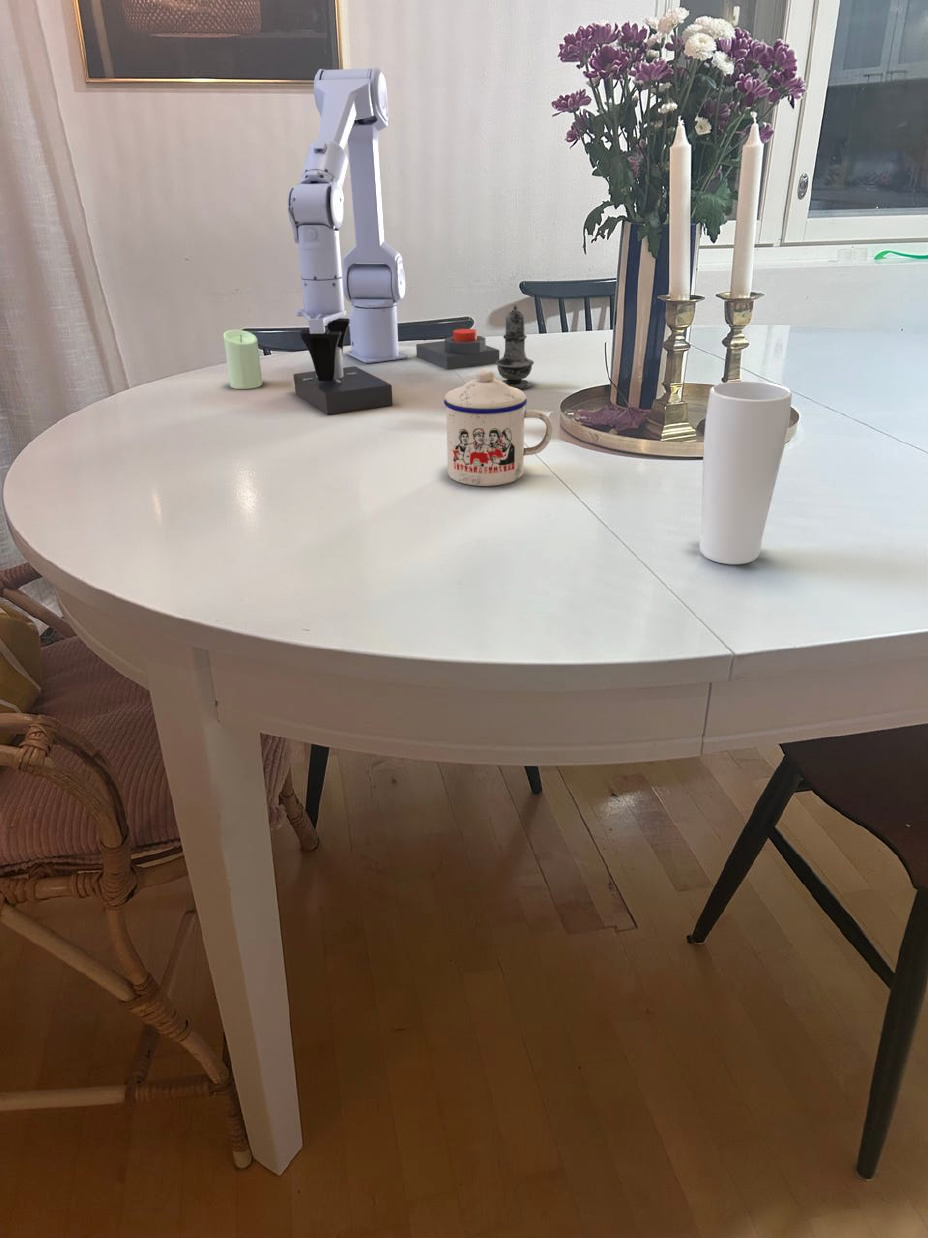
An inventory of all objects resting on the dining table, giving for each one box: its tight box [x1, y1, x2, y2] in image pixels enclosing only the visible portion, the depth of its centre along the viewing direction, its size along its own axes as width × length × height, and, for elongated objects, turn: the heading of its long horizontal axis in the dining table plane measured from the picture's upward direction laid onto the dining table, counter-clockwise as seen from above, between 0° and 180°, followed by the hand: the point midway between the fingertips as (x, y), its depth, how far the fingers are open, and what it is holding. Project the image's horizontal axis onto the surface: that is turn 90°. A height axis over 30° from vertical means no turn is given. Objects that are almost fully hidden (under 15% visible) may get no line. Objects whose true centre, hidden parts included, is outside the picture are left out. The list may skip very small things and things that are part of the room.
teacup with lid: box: [443, 369, 554, 487], centre depth 100 cm, size 12×9×12 cm
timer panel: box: [293, 365, 394, 416], centre depth 133 cm, size 14×10×3 cm
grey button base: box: [415, 335, 500, 370], centre depth 156 cm, size 12×10×4 cm
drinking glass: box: [699, 380, 793, 565], centre depth 79 cm, size 7×7×15 cm
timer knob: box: [316, 347, 344, 379], centre depth 133 cm, size 4×4×4 cm
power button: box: [452, 328, 478, 342], centre depth 152 cm, size 4×4×2 cm
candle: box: [222, 329, 263, 390], centre depth 140 cm, size 5×5×8 cm
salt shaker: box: [495, 304, 535, 391], centre depth 137 cm, size 6×6×12 cm
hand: (329, 375), depth 133 cm, fingers open, 6 cm apart
